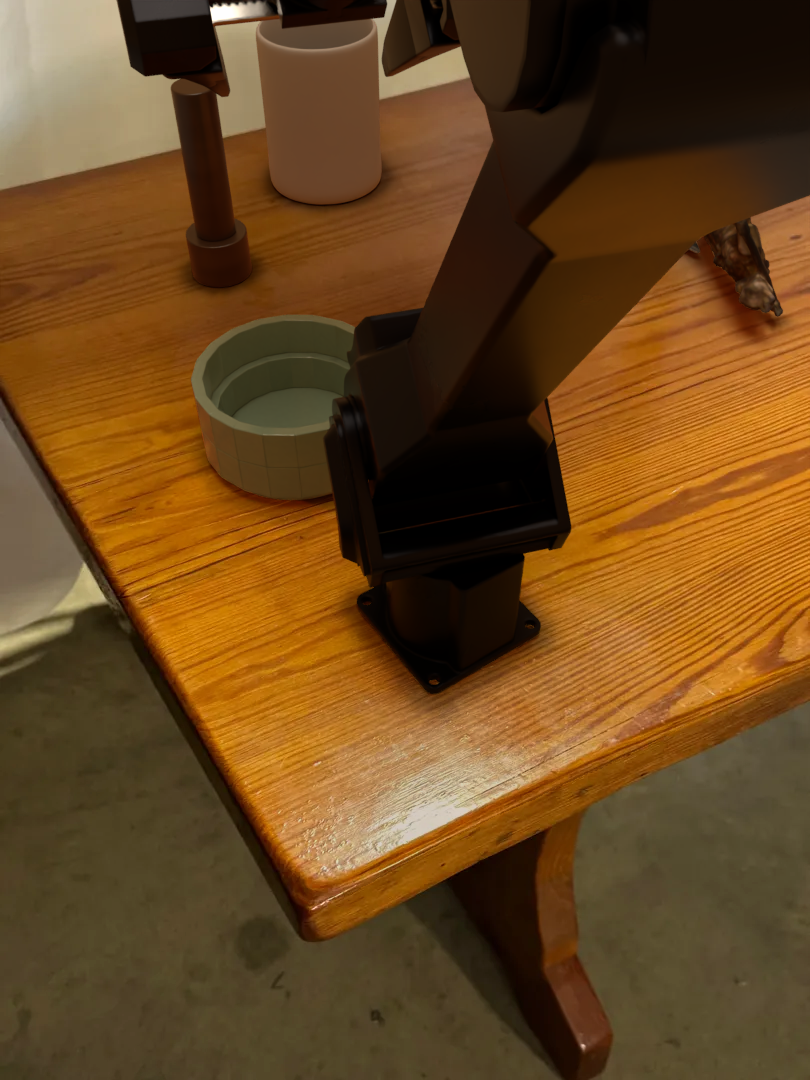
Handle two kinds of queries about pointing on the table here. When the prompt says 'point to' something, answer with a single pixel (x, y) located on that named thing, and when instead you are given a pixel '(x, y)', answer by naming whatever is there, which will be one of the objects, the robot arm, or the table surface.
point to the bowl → (272, 402)
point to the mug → (321, 109)
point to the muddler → (209, 190)
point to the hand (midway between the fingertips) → (306, 78)
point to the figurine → (745, 264)
